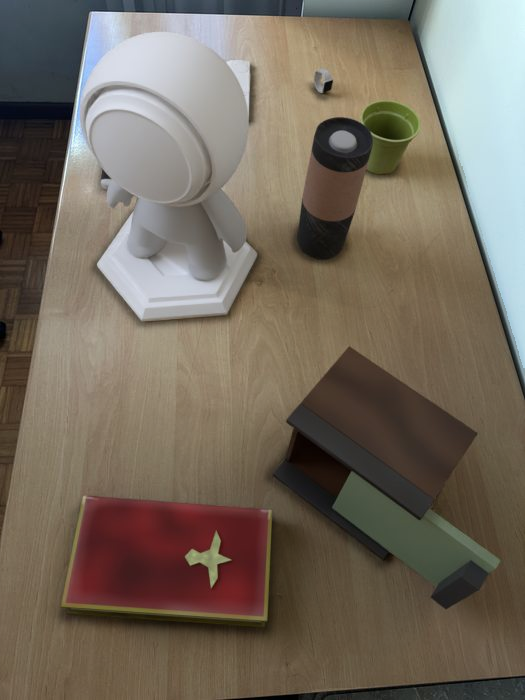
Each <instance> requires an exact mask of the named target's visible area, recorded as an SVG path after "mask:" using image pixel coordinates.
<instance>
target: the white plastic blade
mask: <svg viewBox="0 0 525 700" xmlns="http://www.w3.org/2000/svg"><path fill="white" fill-rule="evenodd" d="M225 62H226V63H227V64H228V66H229V67H230V68H231V70H232V71H233V73H234V74H235V76H236V77H237V79H238V81H239V83H240V85H241V88H242V90H243V93H244V96H245V100H246V104H247V109H248V119H249V120H250V94H251V93H250V92H251V90H250V89H251V61H250V60H240V59H230V60H226V61H225Z"/></svg>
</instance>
